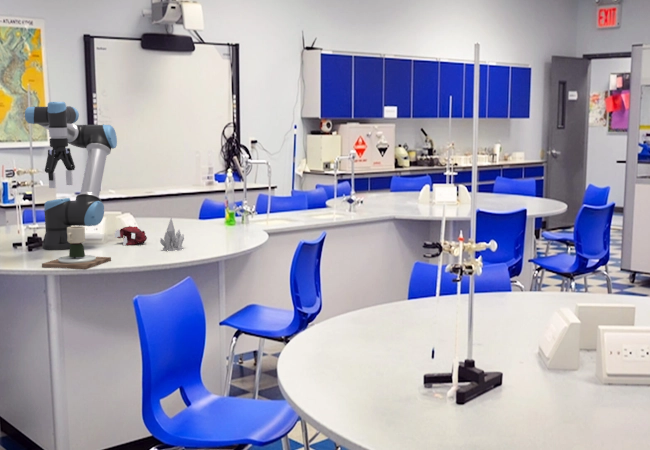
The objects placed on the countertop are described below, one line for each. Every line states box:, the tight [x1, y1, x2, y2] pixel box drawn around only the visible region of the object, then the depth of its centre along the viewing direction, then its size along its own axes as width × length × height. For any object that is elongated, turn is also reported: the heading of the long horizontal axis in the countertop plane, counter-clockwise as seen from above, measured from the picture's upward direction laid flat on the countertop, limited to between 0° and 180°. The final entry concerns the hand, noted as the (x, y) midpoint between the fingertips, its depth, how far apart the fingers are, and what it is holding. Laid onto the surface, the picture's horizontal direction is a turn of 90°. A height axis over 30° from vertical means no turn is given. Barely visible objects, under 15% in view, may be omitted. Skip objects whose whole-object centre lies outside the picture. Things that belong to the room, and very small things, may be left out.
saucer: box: [57, 254, 97, 264], centre depth 313 cm, size 15×15×1 cm
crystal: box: [159, 217, 185, 252], centre depth 350 cm, size 10×13×15 cm
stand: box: [41, 256, 112, 270], centre depth 313 cm, size 20×20×2 cm
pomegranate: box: [114, 225, 148, 246], centre depth 366 cm, size 15×13×9 cm
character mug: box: [67, 226, 86, 258], centre depth 312 cm, size 11×7×13 cm, turn 163°
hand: (61, 186), depth 327 cm, fingers open, 13 cm apart
